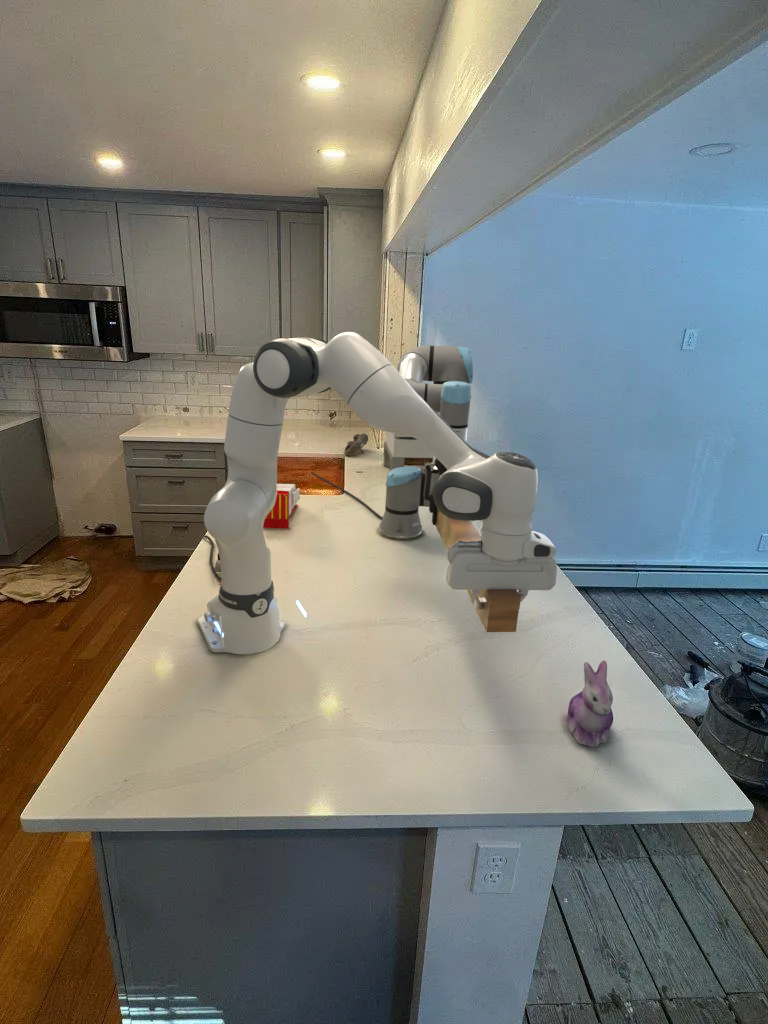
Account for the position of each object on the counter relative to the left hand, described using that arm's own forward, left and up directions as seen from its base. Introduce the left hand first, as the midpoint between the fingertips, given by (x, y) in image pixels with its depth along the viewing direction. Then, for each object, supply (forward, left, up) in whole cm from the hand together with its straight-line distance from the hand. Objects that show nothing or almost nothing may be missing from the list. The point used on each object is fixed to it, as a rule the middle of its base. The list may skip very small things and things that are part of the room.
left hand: (496, 608), depth 108 cm
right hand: (-42, +30, -3) cm, 52 cm away
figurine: (+18, +9, -22) cm, 30 cm away
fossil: (-179, +106, -22) cm, 209 cm away
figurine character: (-85, -13, -22) cm, 89 cm away
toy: (-117, +22, -22) cm, 121 cm away
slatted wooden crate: (-131, +108, -22) cm, 171 cm away
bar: (-21, +15, -3) cm, 26 cm away
